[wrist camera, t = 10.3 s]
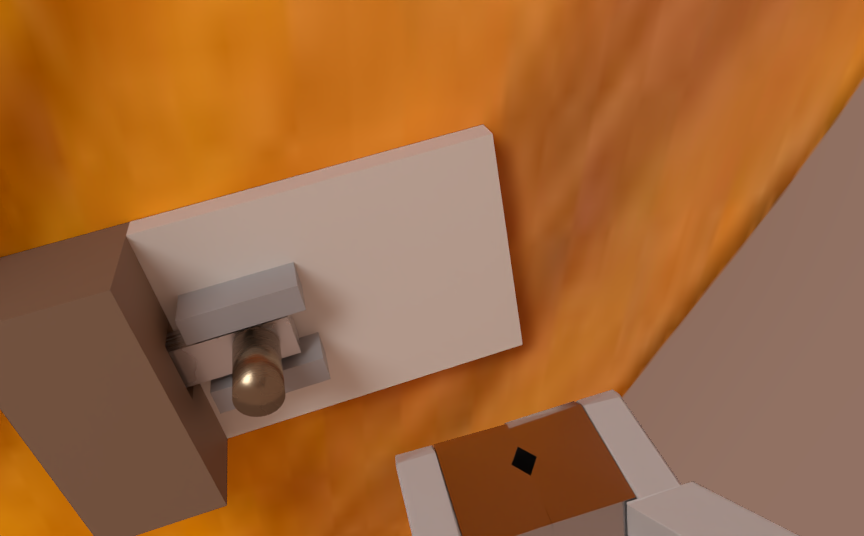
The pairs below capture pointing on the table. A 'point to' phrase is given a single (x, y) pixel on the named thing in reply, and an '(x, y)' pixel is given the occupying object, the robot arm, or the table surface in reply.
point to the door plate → (248, 318)
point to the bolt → (241, 362)
